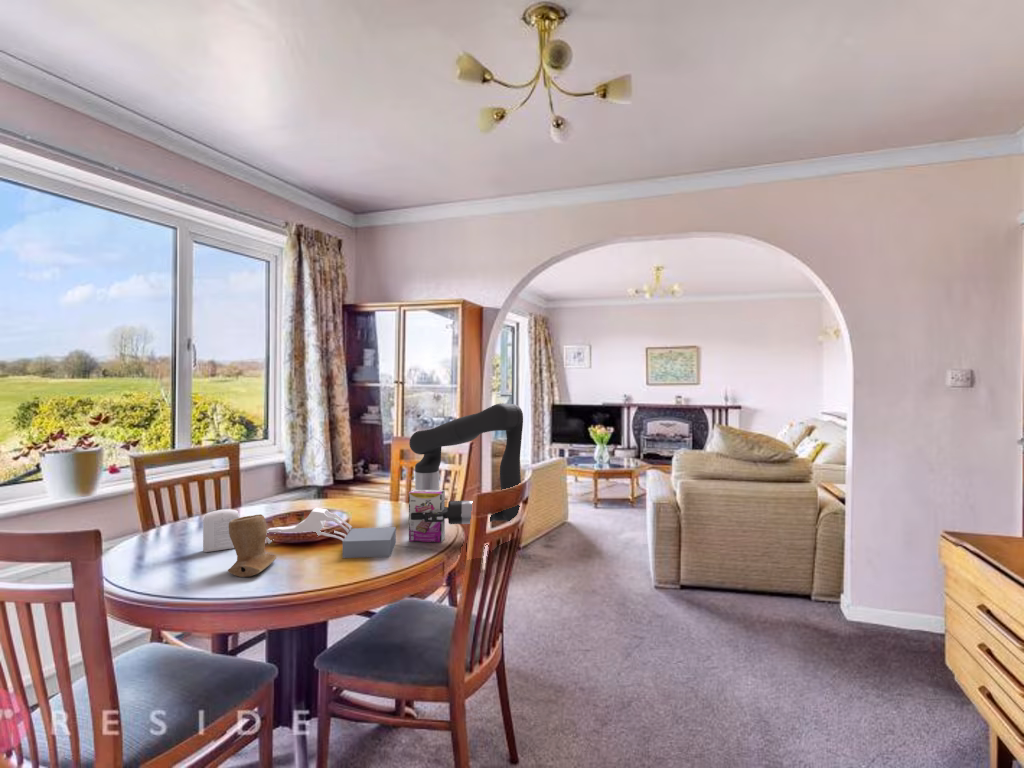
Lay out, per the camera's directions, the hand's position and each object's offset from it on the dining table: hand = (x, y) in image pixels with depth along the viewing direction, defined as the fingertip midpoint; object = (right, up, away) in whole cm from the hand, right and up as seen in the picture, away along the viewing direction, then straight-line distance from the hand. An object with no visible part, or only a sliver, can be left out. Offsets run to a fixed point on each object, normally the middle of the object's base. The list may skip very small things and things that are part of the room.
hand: (412, 513), depth 179 cm
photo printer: (-59, -10, -7) cm, 60 cm away
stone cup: (-41, -10, -26) cm, 49 cm away
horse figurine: (-34, -10, 0) cm, 35 cm away
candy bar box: (+5, -9, +1) cm, 10 cm away
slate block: (-11, -9, -9) cm, 17 cm away
